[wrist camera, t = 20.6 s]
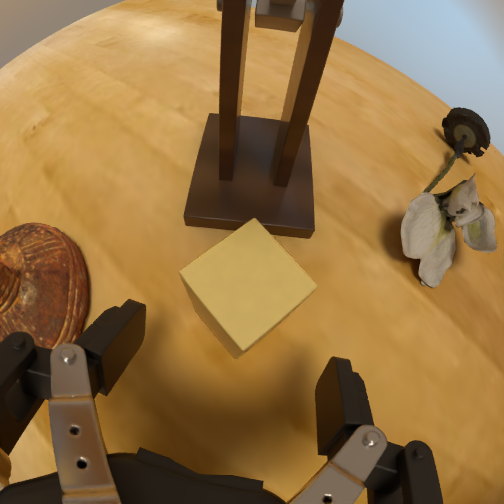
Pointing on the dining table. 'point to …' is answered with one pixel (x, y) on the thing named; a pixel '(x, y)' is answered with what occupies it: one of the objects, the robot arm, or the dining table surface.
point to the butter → (245, 286)
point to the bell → (41, 285)
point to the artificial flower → (450, 206)
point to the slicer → (261, 134)
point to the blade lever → (280, 14)
